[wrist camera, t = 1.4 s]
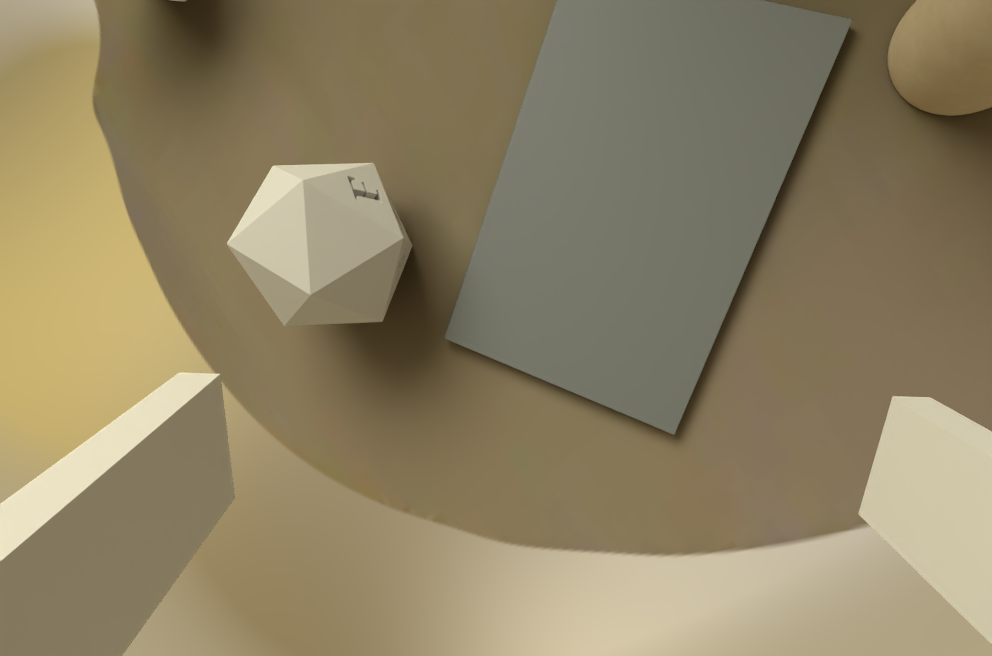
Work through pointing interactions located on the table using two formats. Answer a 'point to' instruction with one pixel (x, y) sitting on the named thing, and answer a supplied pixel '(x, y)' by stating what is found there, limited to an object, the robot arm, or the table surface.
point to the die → (323, 244)
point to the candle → (944, 56)
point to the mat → (640, 191)
